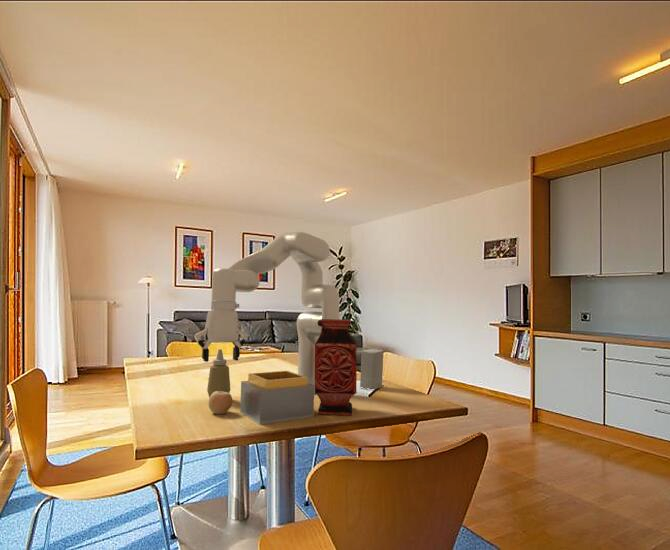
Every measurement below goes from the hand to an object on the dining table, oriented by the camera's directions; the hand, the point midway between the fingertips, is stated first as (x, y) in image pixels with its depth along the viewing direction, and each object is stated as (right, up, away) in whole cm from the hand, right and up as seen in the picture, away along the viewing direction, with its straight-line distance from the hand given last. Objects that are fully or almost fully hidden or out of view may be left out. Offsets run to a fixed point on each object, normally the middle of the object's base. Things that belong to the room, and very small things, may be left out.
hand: (220, 360), depth 144 cm
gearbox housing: (+18, -17, -1) cm, 25 cm away
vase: (+37, -18, +5) cm, 41 cm away
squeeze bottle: (-5, -18, +16) cm, 25 cm away
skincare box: (+52, -20, +44) cm, 71 cm away
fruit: (0, -17, -1) cm, 17 cm away
